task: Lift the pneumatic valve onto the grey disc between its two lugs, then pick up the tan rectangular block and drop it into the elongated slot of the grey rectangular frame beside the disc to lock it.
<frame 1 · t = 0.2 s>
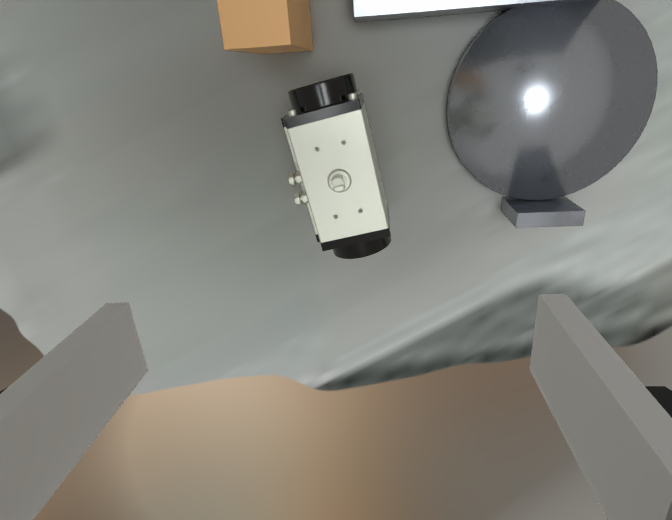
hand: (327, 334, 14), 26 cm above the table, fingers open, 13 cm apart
pneumatic valve: (344, 151, 38), on the table
grey disc: (543, 103, 35), on the table
tan rectangular block: (285, 23, 34), on the table
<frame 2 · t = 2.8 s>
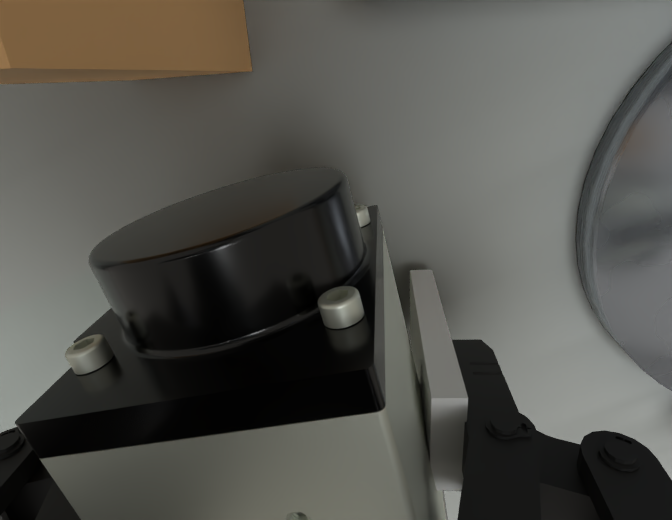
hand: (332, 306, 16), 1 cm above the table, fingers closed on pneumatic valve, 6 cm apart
pneumatic valve: (333, 292, 17), on the table, touching gripper
tan rectangular block: (178, 4, 13), on the table
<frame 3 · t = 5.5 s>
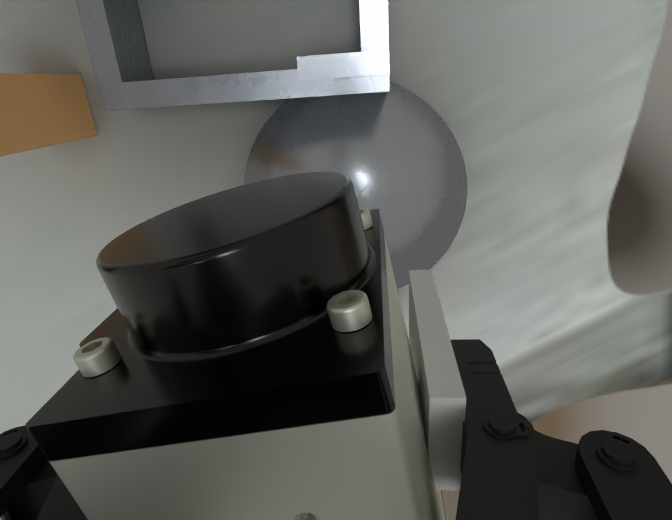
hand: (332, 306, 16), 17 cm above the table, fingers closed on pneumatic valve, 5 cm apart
grey rectangular frame: (249, 25, 27), on the table
pneumatic valve: (331, 293, 17), point 15 cm above the table, touching gripper
grey disc: (354, 192, 31), on the table
tan rectangular block: (62, 107, 30), on the table
when the fingers open (4 cm above the table, at t = 8.1 s): pneumatic valve drops 1 cm, resting on grey disc.
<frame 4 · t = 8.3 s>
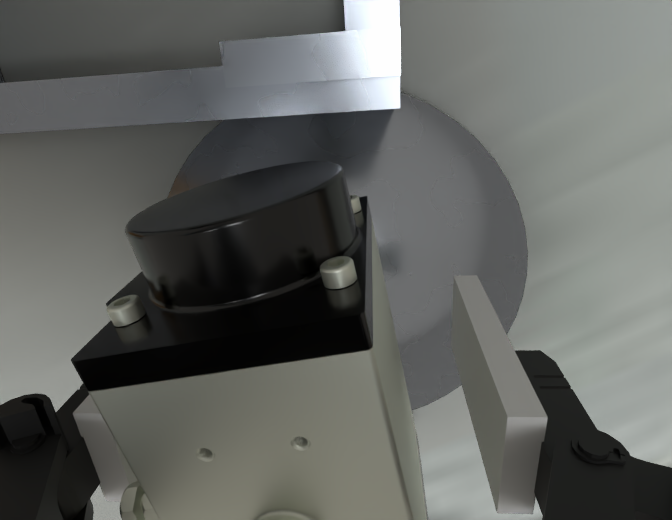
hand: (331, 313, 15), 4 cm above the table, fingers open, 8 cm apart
pneumatic valve: (323, 278, 18), point 1 cm above the table, touching grey disc
grey disc: (340, 264, 19), on the table
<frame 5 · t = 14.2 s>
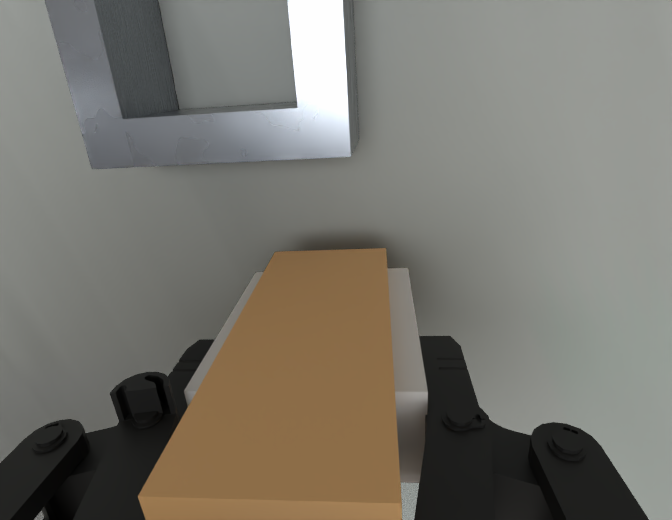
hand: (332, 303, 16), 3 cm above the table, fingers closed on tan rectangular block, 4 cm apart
tan rectangular block: (333, 299, 16), point 3 cm above the table, touching gripper
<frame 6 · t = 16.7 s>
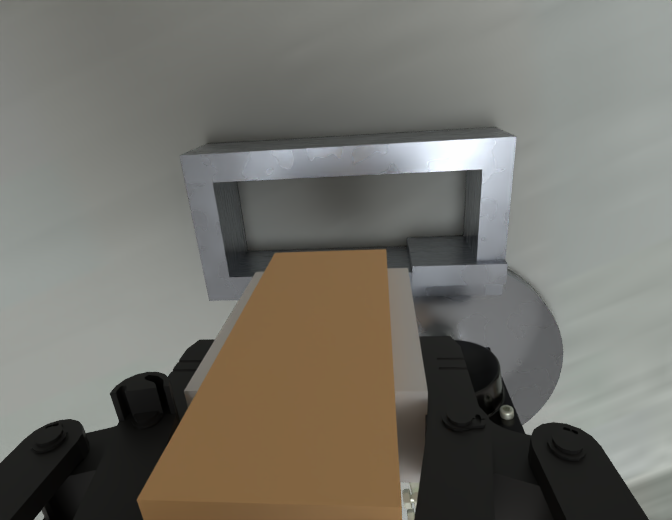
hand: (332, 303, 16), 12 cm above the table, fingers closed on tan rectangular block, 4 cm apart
grey rectangular frame: (350, 206, 27), on the table
pneumatic valve: (436, 364, 30), point 1 cm above the table, touching grey disc
grey disc: (443, 352, 31), on the table
tan rectangular block: (333, 300, 16), point 12 cm above the table, touching gripper
when the fingers open (2 cm above the table, at t = 19.3 s): tan rectangular block drops 1 cm, resting in grey rectangular frame.
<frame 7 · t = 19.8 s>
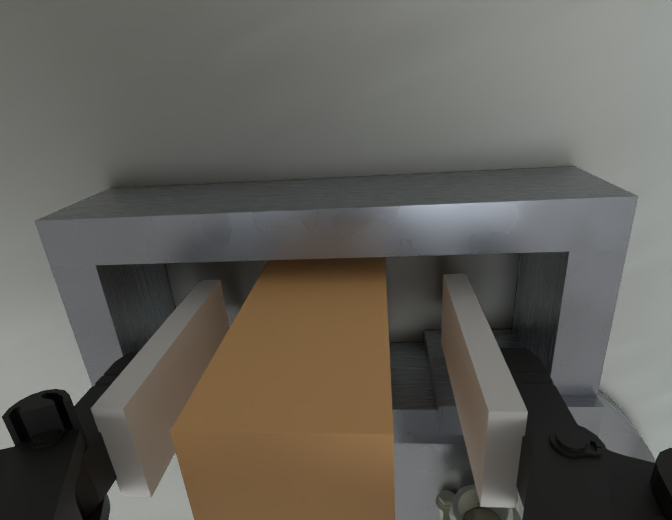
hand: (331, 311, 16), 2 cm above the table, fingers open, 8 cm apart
grey rectangular frame: (336, 284, 18), on the table
pneumatic valve: (467, 509, 20), point 1 cm above the table, touching grey disc
grey disc: (474, 485, 21), on the table
tan rectangular block: (335, 283, 18), resting in grey rectangular frame
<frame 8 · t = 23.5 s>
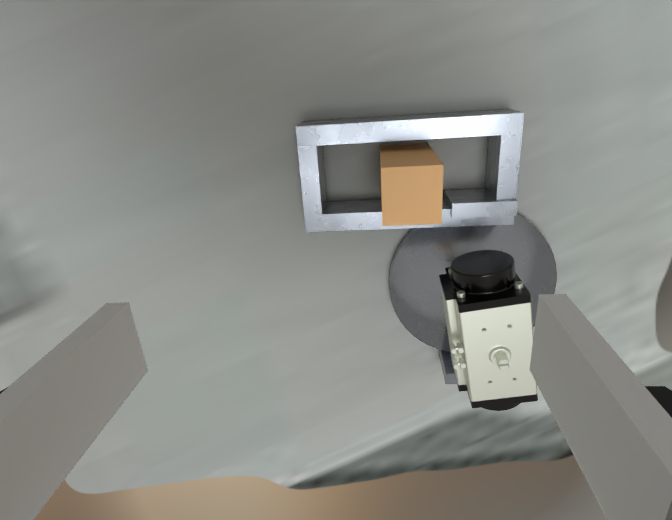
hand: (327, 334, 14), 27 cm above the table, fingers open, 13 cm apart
grey rectangular frame: (404, 166, 38), on the table
pneumatic valve: (464, 285, 41), point 1 cm above the table, touching grey disc
grey disc: (468, 278, 42), on the table
tan rectangular block: (403, 166, 38), resting in grey rectangular frame
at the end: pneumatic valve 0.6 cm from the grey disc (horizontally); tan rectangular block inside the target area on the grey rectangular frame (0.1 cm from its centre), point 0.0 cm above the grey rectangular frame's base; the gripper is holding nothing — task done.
